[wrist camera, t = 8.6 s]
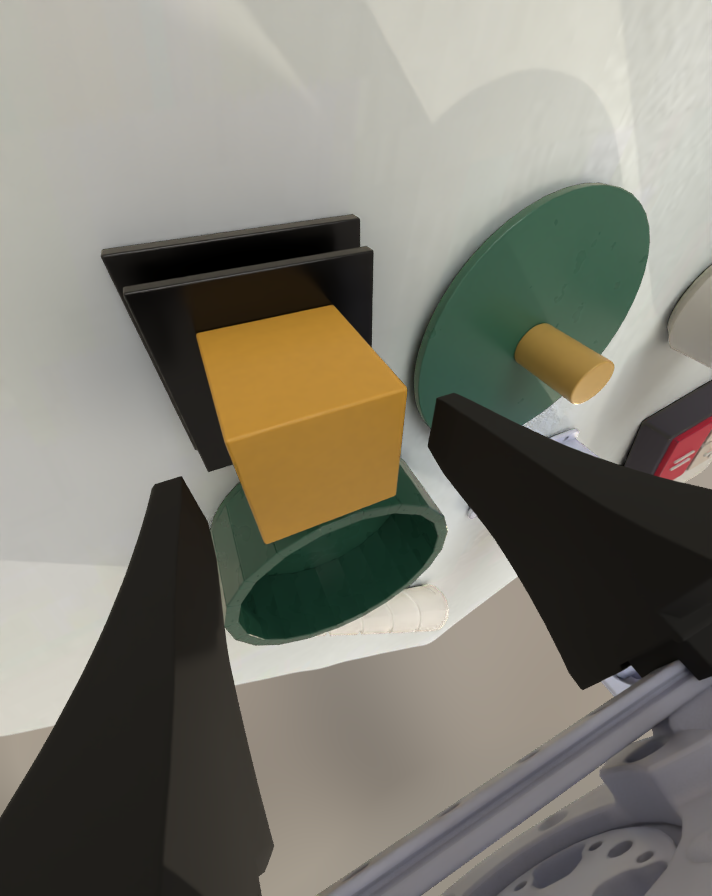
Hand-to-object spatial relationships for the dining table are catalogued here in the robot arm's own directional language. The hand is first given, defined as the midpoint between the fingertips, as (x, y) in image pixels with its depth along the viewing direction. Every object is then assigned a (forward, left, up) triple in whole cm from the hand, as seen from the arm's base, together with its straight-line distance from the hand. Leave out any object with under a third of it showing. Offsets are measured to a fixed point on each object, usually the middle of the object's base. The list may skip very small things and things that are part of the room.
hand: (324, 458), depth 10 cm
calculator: (-43, +23, -7) cm, 49 cm away
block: (0, 0, -4) cm, 4 cm away
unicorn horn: (-3, +31, -7) cm, 32 cm away
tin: (-1, +13, -7) cm, 15 cm away
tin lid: (-14, +3, -6) cm, 16 cm away
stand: (0, 0, -7) cm, 7 cm away
